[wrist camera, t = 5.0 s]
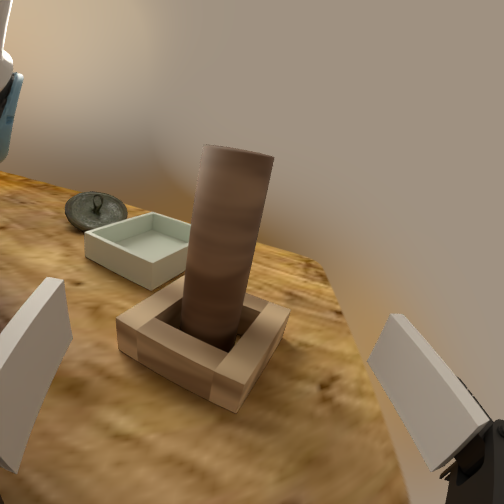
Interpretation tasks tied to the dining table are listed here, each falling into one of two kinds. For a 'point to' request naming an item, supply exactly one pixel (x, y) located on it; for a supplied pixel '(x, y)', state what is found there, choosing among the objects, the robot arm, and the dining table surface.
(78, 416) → the dining table surface
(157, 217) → the tray
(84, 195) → the lid
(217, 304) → the dowel
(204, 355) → the square wooden peg frame
